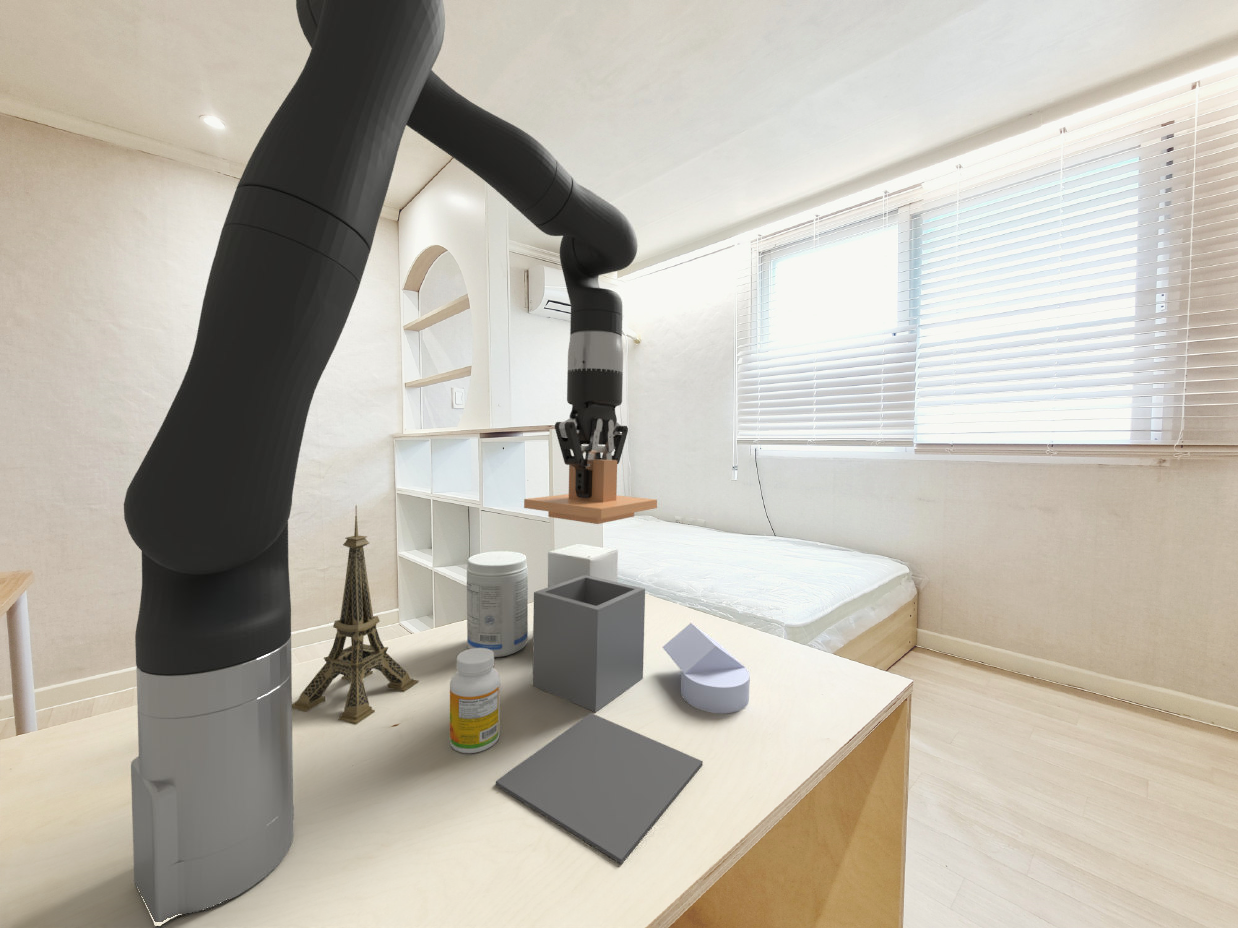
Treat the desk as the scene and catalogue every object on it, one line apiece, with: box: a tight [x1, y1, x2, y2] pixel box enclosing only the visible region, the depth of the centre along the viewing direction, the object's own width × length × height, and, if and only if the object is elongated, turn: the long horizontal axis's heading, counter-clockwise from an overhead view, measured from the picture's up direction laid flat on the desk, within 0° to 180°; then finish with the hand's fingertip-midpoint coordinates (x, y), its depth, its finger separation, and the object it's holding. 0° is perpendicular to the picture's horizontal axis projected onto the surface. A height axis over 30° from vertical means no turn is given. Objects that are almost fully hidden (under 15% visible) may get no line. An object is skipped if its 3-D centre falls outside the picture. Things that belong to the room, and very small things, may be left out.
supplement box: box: [547, 543, 619, 588], centre depth 84 cm, size 9×9×15 cm
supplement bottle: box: [449, 648, 501, 754], centre depth 55 cm, size 5×5×10 cm
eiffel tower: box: [292, 504, 419, 725], centre depth 63 cm, size 11×11×25 cm
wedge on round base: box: [662, 622, 751, 714], centre depth 68 cm, size 9×7×13 cm
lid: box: [523, 457, 658, 525], centre depth 67 cm, size 13×13×8 cm
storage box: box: [532, 575, 646, 713], centre depth 68 cm, size 11×11×13 cm
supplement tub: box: [466, 550, 529, 658], centre depth 79 cm, size 10×10×15 cm
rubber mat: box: [495, 712, 703, 865], centre depth 50 cm, size 15×15×1 cm
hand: (592, 495), depth 67 cm, fingers closed on lid, 3 cm apart
